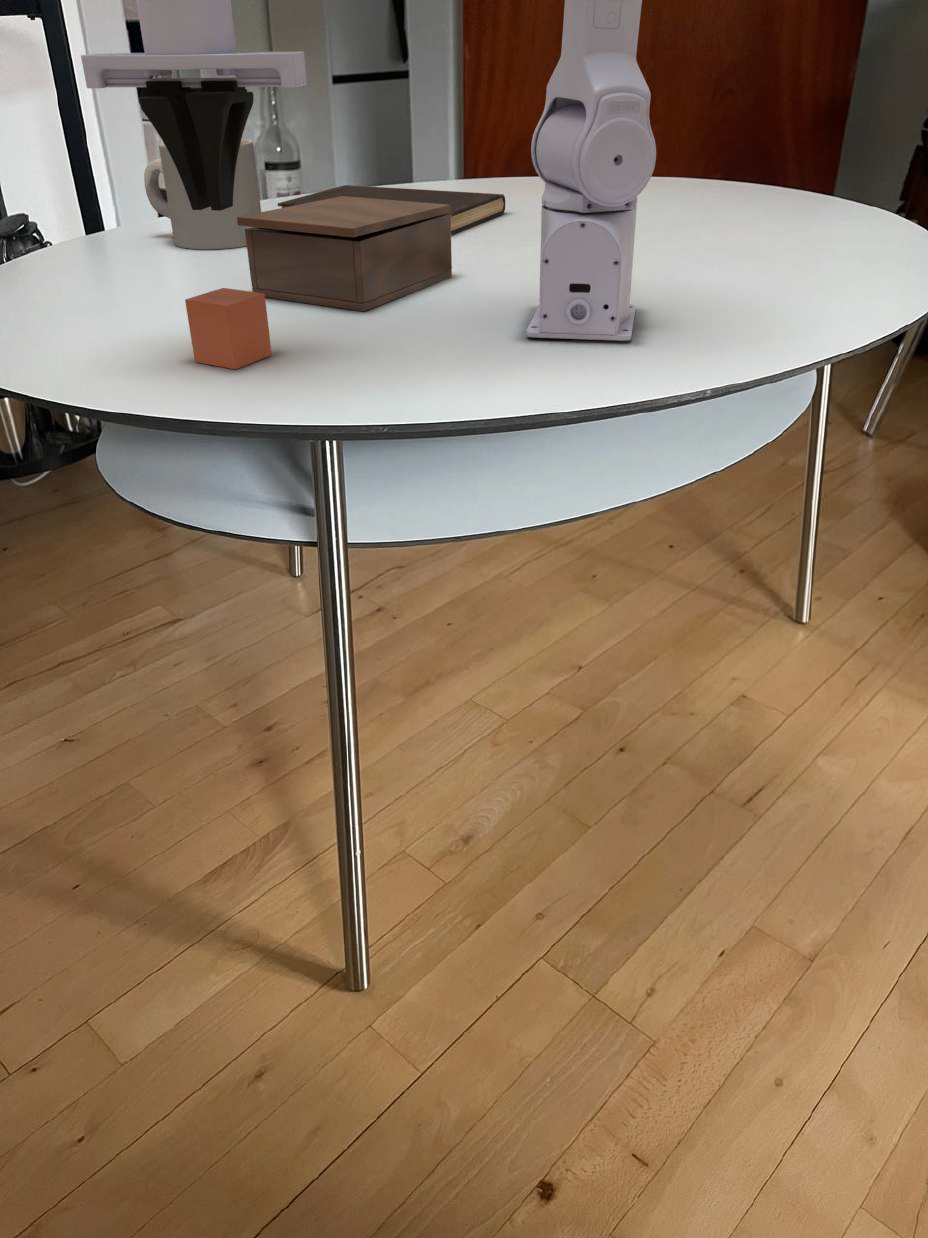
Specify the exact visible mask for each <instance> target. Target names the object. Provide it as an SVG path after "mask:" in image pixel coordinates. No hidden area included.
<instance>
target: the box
mask: <svg viewBox="0 0 928 1238" xmlns="http://www.w3.org/2000/svg"><path fill="white" fill-rule="evenodd" d="M245 236H246V244H247V246H246V250H247V258H248V267H249V275H250V282H251V283H250V284H251V292H257V293H264V294H265V298H267V299H274V300H282V301H288V302H295V303H303V304H309V305H316V306H323V307H330V308H339V309H344V310H350V311H358V312H367V311H369V310H372V309H375V308H377V307H379V306H382V305H385V304H387V303H390V302H392V301H395V300H397V299H400V298H403V297H405V296H407V295H410V294H412V293H415V292H417V291H420V290H422V289H425V288H427V287H430V286H432V285H436V284H438V283H440V282H443V281H445V280H448V279H450V278H453V270H452V269H453V265H452V264H453V261H452V260H453V259H452V235H451V214H449V213H448V214H444V215H440V216H436V217H432V218H428V219H424V220H420V221H416V222H412V223H408V224H404V225H401V226H397V227H393V228H389V229H385V230H381V231H377V232H373V233H369V234H365V235H361V236H357V237H344V236H335V235H325V234H315V233H306V232H296V231H287V230H277V229H267V228H258V227H251V228H247V229H245Z"/></svg>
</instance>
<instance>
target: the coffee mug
mask: <svg viewBox="0 0 928 1238" xmlns="http://www.w3.org/2000/svg"><path fill="white" fill-rule="evenodd" d="M254 149H255V147H254V141H253V140H252V139H248V138H242V139H241V143H240V147H239V152H238V157H237V163H236V170H235V179H234V191H233V206H232V207H229V208H227V209H224V210H220V211H218V210H212V209H211V206H210V207H208V208H205V209H203V210H192V207H191V204H190V201H189V198H188V196H187V193H186V190H185V188H184V185H183V182H182V180H181V178H180V175H179V173H178V170H177V168H176V166H175V164H174V162H173V160H172V158H171V156H170V154H169V152H168V150H167V148H166V146H165V144H164V143H163V142H161V143H159V145H158V150H159V155H160V156H159V157H160V158H156V159H153V160H151V161H150V162H149V163H148V164H146V166H145V169H144V174H143V179H144V181H143V182H144V189H145V193H146V197H147V199H148V202H149V203H150V205H151V207H152V208H153V209H154V211H156V212H157V213H159V215H161V216H163V217H166V218H168V219H169V220H170V224H171V231H172V236H173V242H174V245H175V246H176V247H178V248H182V249H191V250H225V249H226V250H227V249H234V248H242V247H247V244H246V236H245V229H247V228H251V227H248V226H239V225H238V223H237V217H239V216H244V215H249V214H254V213H259V212H262V205H261V199H260V190H259V180H258V173H257V164H256V163H257V162H256V156H255V150H254ZM160 173H161V174H162V176H163V181H164V187H165V192H166V197H167V198H166V199H167V200H166V199H164V197H163V194H162V192H161V188H160V183H159V181H160V180H159V177H160Z"/></svg>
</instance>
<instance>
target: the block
mask: <svg viewBox="0 0 928 1238" xmlns="http://www.w3.org/2000/svg"><path fill="white" fill-rule="evenodd" d="M184 302H185V310H186V315H187V321H188V328H189V333H190V339H191V346H192V353H193V359H194V363H199V364H204V365H210V366H215V367H221V368H227V369H231V370H238V369H241V368H244V367H246V366H248V365H251V364H253V363H256V362H258V361H261V360H263V359H266V358H268V357H270V356H273V353H272V345H271V336H270V328H269V327H270V326H269V319H268V310H267V302H266V297H265V294H264V293H257V292H252V291H250V290H242V289H235V288H228V287H221V288H218V289H214V290H212V291H208V292H205V293H202V294H199V295H196V296H195V295H194V296H191V297H189V298H186V299H184Z"/></svg>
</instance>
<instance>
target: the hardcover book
mask: <svg viewBox="0 0 928 1238" xmlns="http://www.w3.org/2000/svg"><path fill="white" fill-rule="evenodd" d="M340 196H348V197H360V198H372V199H384V200H397V201H409V202H421V203H433V204H446V205H450V210H451V212H450V213H449V214H451V236H453V235H455V234H457V233H460V232H463V231H465V230H467V229H468V230H469V229H470V228H473V227H475V226H478V225H480V224H482V223H485V222H487V221H489V220H492V219H494V218H495V219H496V218H497V217H500V216H503V215H504V213H505V211H506V197H505V195H504V194H503V193H491V192H490V193H488V192H487V193H486V192H471V191H470V192H469V191H455V190H454V191H453V190H437V189H436V190H435V189H418V188H403V187H402V188H401V187H385V186H369V185H368V186H367V185H349V184H344V185H340V186H337V187H333V188H329V189H326V190H322V191H318V192H314V193H311V194H307V195H303V196H299V197H296V198H292V199H289V200H285V201H281V202H278V203H277V207H281V208H285V207H290V206H295V205H300V204H305V203H310V202H315V201H320V200H325V199H330V198H335V197H340Z"/></svg>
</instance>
